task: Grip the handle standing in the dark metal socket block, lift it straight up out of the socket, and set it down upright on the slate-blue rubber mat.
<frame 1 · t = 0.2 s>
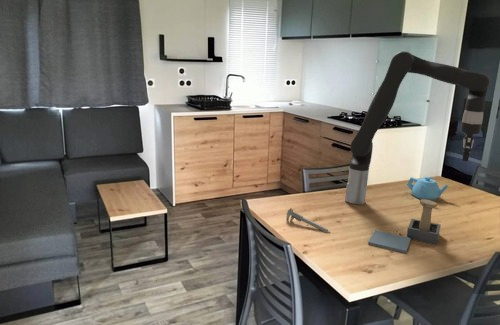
hand: (465, 158, 176), 29 cm above the table, tool pointing down, fingers open, 8 cm apart
teapot: (425, 196, 215), on the table
handle: (422, 236, 166), resting in socket block
rubber mat: (389, 242, 160), on the table
socket block: (422, 236, 166), on the table
caliper: (307, 227, 172), on the table
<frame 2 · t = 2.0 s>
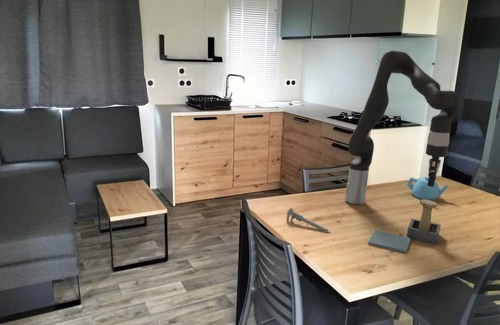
hand: (431, 183, 160), 23 cm above the table, tool pointing down, fingers open, 8 cm apart
nothing on the table moved.
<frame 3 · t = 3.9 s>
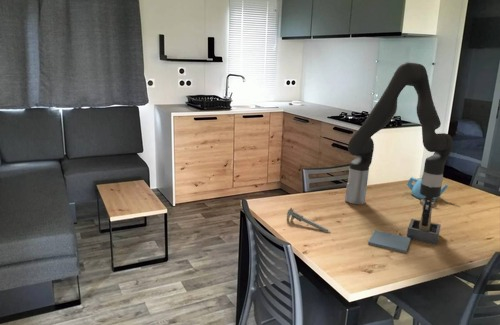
hand: (425, 223, 165), 6 cm above the table, tool pointing down, fingers closed on handle, 4 cm apart
handle: (422, 236, 166), resting in socket block, touching gripper
everything else where it was.
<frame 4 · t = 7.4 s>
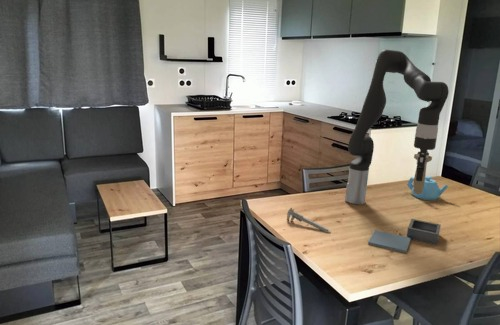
hand: (419, 179, 157), 25 cm above the table, tool pointing down, fingers closed on handle, 4 cm apart
handle: (417, 193, 159), point 19 cm above the table, touching gripper
everything else where it was.
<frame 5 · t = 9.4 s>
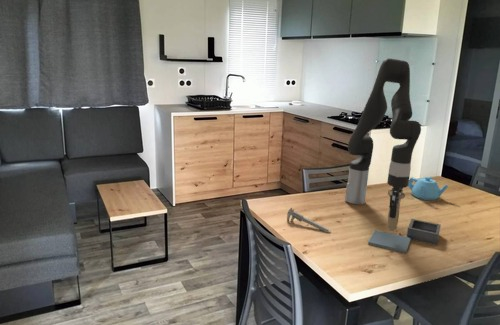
hand: (393, 215, 157), 11 cm above the table, tool pointing down, fingers closed on handle, 4 cm apart
handle: (391, 229, 159), point 5 cm above the table, touching gripper
everything else where it was.
when the fingers open (8 cm above the table, at t = 10.5 s): handle stays where it is, resting on rubber mat.
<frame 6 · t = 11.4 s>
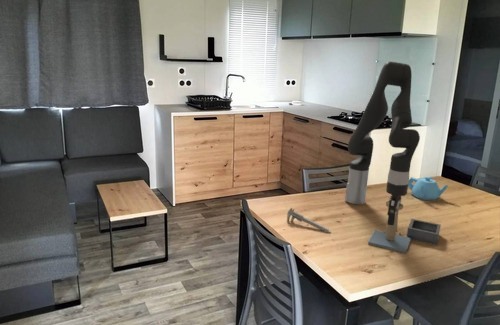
hand: (392, 220, 158), 9 cm above the table, tool pointing down, fingers open, 8 cm apart
handle: (389, 240, 160), point 1 cm above the table, touching rubber mat
everything else where it was.
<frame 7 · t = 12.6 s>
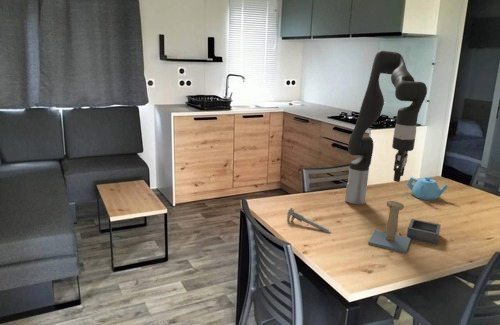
hand: (398, 178, 154), 26 cm above the table, tool pointing down, fingers open, 8 cm apart
nothing on the table moved.
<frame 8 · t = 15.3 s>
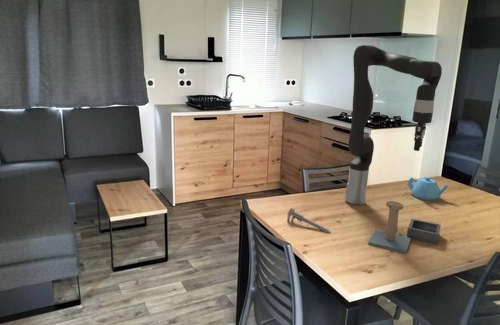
hand: (417, 148, 173), 33 cm above the table, tool pointing down, fingers open, 8 cm apart
nothing on the table moved.
at the end: handle inside the target area on the rubber mat (0.2 cm from its centre), point 0.8 cm above the rubber mat's base; handle tilted 0°; the gripper is holding nothing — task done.
